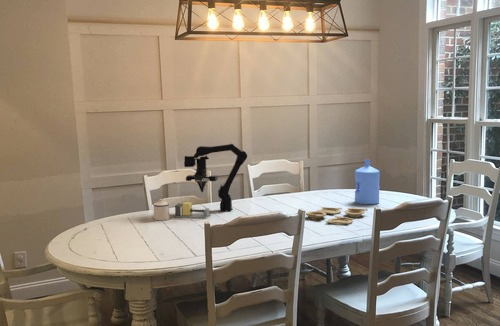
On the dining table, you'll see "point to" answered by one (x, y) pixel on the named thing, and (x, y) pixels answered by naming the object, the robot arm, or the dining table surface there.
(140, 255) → the dining table surface
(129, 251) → the dining table surface
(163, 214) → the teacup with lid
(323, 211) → the tableware set
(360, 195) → the water jug
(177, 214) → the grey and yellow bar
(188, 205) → the sleeve
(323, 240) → the dining table surface
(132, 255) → the dining table surface
